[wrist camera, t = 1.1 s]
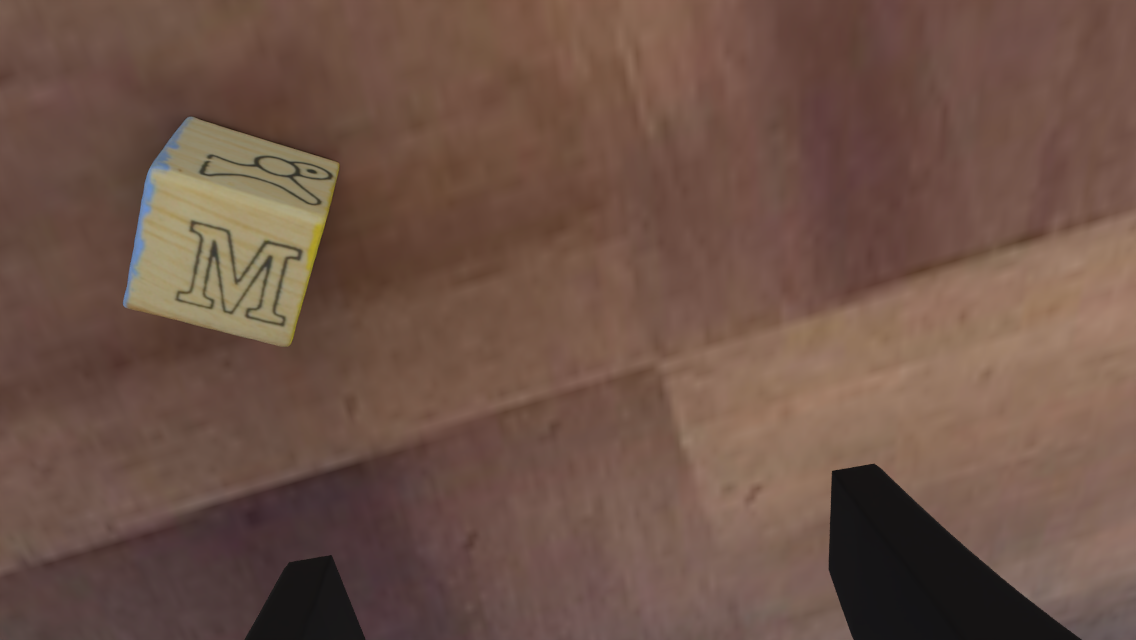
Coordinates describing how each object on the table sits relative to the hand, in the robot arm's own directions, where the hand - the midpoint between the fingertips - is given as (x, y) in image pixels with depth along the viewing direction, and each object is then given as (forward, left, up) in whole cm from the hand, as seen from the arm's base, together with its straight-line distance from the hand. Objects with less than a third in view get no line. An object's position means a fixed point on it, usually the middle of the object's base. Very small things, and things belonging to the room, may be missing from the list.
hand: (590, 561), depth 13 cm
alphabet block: (-2, +6, -9) cm, 11 cm away
